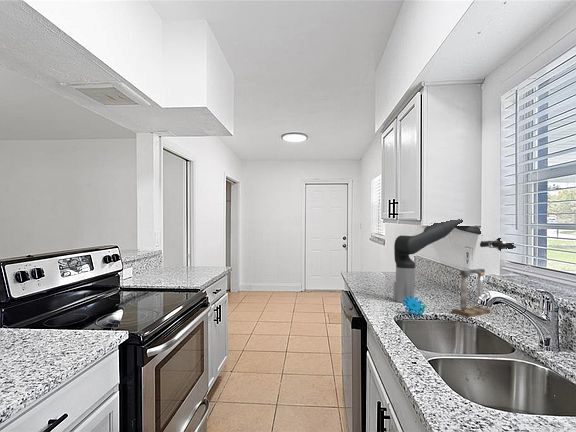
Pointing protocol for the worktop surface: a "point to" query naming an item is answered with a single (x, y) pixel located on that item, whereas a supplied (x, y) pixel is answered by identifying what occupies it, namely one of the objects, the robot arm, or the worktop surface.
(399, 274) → the robot arm
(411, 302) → the gear
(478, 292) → the clear glass tube
